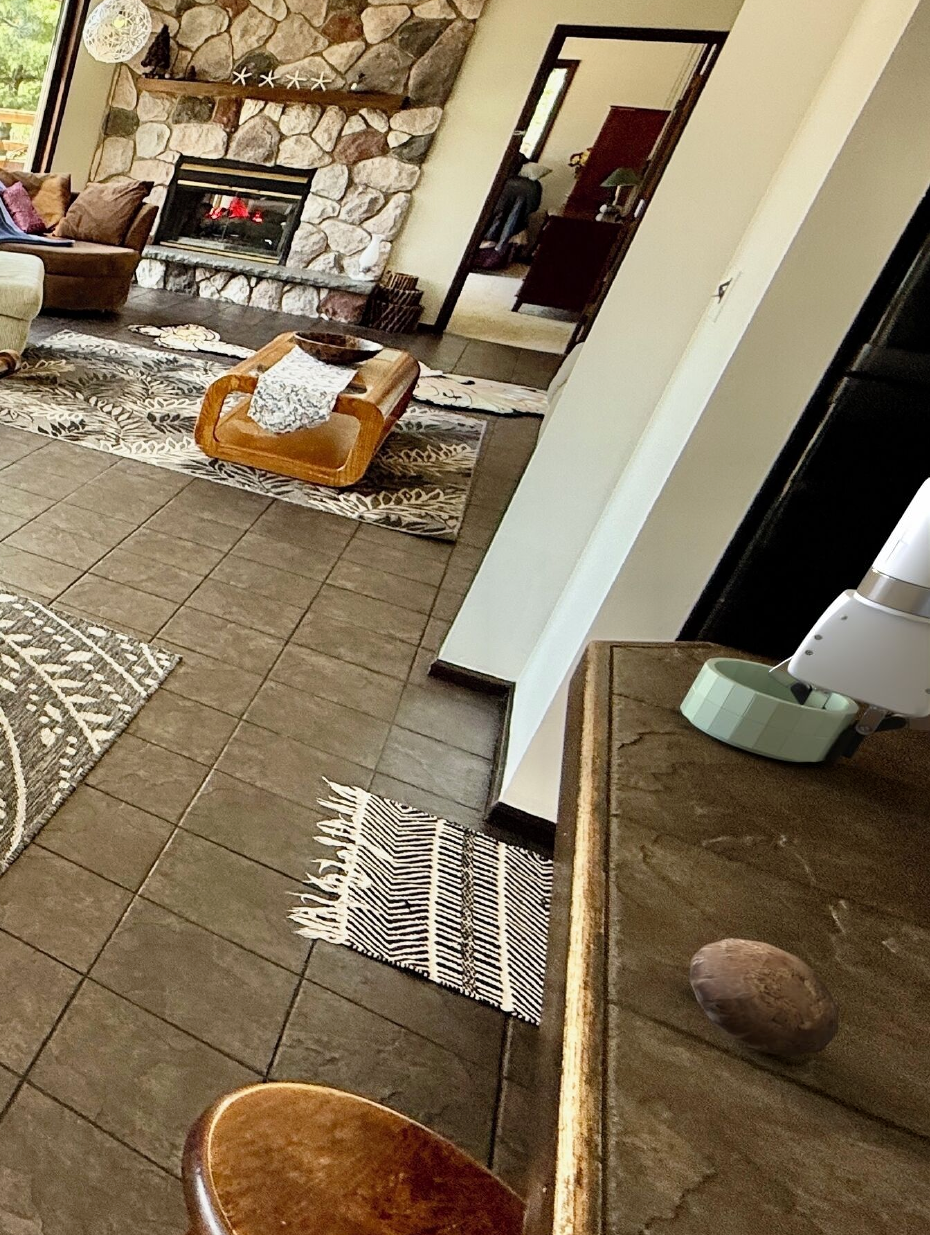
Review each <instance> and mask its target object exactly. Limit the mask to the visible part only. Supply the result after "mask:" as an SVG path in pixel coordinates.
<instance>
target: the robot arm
mask: <svg viewBox="0 0 930 1235" xmlns="http://www.w3.org/2000/svg"><path fill="white" fill-rule="evenodd" d="M872 563H873V564H872V565H871V566H870V568H869V569H868V570H867V572H866V574H865V576H864V577H863V579H862V580H861V582H860V583H859V585H858V587H857V589H846V590H844V591H843V592H842V593H841V594H840V595H838V596H837V598H836V599H835V600H834V601H833V602H832V603H831V604H830V605H829V606H828V607H827V609H826V610H825V611H824V612H823V614H822V615H821V616H820V617H819V618H818V620H817V622H816V623H815V624H814V625H813V627H812V628H811V629H810V631H809V632H808V633H807V635H806V636H805V638H804V639H803V640H802V642H801V643H800V645H799V646H798V648H797V650H796V651H795V653H794V654H793V655H792V656H790V657H788V658H787V659H785V660H783V661H782V662H780V663H779V664H777V665H776V666H773V667H774V668H773V669H771V670H770V671H769V673H768V674H769V676H770V677H771V678H773V679H774V680H776V681H777V682H778V683H780V684H781V685H783V686H784V687H786V688H788V689H789V690H791V692H792V694H793V695H794V697H795V698H796V700H797V701H798V703H799V704H800V705H803V706H808V707H814V708H819V709H826V708H825V705H826V704H827V702H828V700H829V699H830V697H831V696H832V694H833V693H836V694H839V695H842V696H845V697H848V698H850V699H852V700H853V701H857V702H860V703H863V704H866V705H869V706H868V708H867V709H866V711H865V712H864V713H863V715H862V716H861V718H860V719H855V720H854V722H853V723H850V724H849V725H848V727H847V728H846V729H845V731H844V732H843V733H842V735H841V737H840V738H839V740H838V741H837V743H836V744H835V746H834V747H833V749H832V750H831V752H830V753H829V755H828V756H827V758H826V760H825V761H827V763H829V764H832V765H835V764H837V762H838V761H839V760H840V758H841V757H843V758H846V759H849V760H851V759H852V758H853V757H854V755H855V754H856V753H857V751H858V749H859V748H860V746H861V745H862V744H863V742H864V740H865V739H866V737H867V736H869V735H872V734H876V733H882V732H887V731H894V730H900V729H904V730H905V729H906V730H909V731H911V730H912V731H920V732H921V731H923V732H930V477H928V478H927V479H925V481H924V482H923V483H922V485H921V486H920V488H919V489H918V490H917V492H916V494H915V495H914V497H913V498H912V500H911V502H910V503H909V505H908V506H907V508H906V510H905V511H904V513H903V514H902V517H901V518H900V519H899V521H898V523H897V524H896V526H895V528H894V529H893V531H892V532H891V534H890V536H889V537H888V539H887V540H886V542H885V543H884V545H883V547H882V548H881V550H880V552H879V553H878V555H877V557H876V558H875V559H874V561H873V562H872ZM811 685H813V686H815V687H814V689H813V688H812V687H811ZM826 710H827V709H826ZM889 713H890V714H889Z"/></svg>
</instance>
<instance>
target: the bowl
mask: <svg viewBox="0 0 930 1235" xmlns="http://www.w3.org/2000/svg"><path fill="white" fill-rule="evenodd" d="M774 667H775V666H772V665H768V664H764V663H760V662H756V661H752V660H751V661H750V660H745V659H740V658H733V657H732V658H731V657H713V658H708V660H706V661H705V662H704V664H703V666H702V668H701V670H700V671H699V673H698V674H697V677H696V678H695V680H694V682H693V683H692V685H691V687H690V689H689V691H687V694H686V696H685V697H684V699H683V701H682V703H681V704H680V706H679V709H680V711H681V713H682V715H683V716H684V717H685V718H687V719H688V721H689V722H690V723H691V724H692V725H693V726H695V727H696V728H698V729H699V730H701V731H702V732H703V733H705V734H707V735H709V736H710V737H713V738H715V739H717V740H720V741H722V742H724V743H726V744H728V745H731V746H733V747H736V748H739V749H740V750H741V749H742V750H744V751H747V752H750V753H753V754H757V755H760V756H762V757H763V756H764V757H766V758H770V759H771V758H772V759H776V760H781V761H785V762H786V761H787V762H795V763H808V762H811V763H816V762H823V761H827V760H826V758H827V756H828V755H829V753H830V752H831V750H832V749H833V747H834V746H835V744H836V743H837V741H838V740H839V738H840V737H841V735H842V733H843V732H844V731H845V729H846V728H847V727H848V726H849V725H850V724H851V722H852V721H853V719H854V718H855V716H856V715H857V713H858V712H859V711H860V706H859V705H858V704H857V703H856V700H854V699H851V698H848V697H845V696H842V695H839V694H836V693H833V694H832V696H831V697H830V699H829V700H828V702H827V704H826V705H825V708H826V709H827V710H826V709H819V708H814V707H808V706H803V705H800V704H799V703H798V701H797V700H796V698H795V697H794V695H793V694H792V692H791V690H789V689H788V688H786V687H784V686H783V685H781V684H780V683H778V682H777V681H776V680H774V679H773V678H771V677H770V676H769V674H768V673H769V671H770V670H771V669H773V668H774ZM811 687H812V688H813V689H814V687H815V686H813V685H811Z"/></svg>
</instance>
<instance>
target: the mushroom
mask: <svg viewBox="0 0 930 1235" xmlns="http://www.w3.org/2000/svg"><path fill="white" fill-rule="evenodd" d="M689 982H690V985H691V987H692V990H693V993H694V996H695V998H696V1000H697V1002H698V1004H699V1005H700V1007H701V1008H702V1009H703V1011H704V1012H705V1014H706V1015H707V1016H708V1018H709V1019H710V1021H711V1022H712V1023H713V1024H714V1025H716V1026H717V1027H718V1028H719V1029H720V1030H722V1031H723V1032H724V1033H726V1034H727V1035H728V1036H729V1037H731V1038H732V1039H734V1040H735V1041H737V1042H739V1043H740V1044H743V1045H746V1046H747V1047H750V1048H752V1049H753V1050H756V1051H759V1052H760V1053H768V1054H774V1055H781V1056H782V1055H783V1056H788V1057H789V1056H791V1057H792V1056H798V1055H799V1056H800V1055H806V1054H814V1053H820V1052H822V1051H824V1050H825V1049H826V1047H827V1046H828V1045H829V1044H830V1043H831V1042H832V1041H833V1039H834V1038H835V1037H836V1036H837V1035H838V1033H839V1009H838V1008H837V1005H836V1003H835V1000H834V998H833V996H832V994H831V992H830V990H829V989H828V987H827V986H826V984H825V982H823V980H822V978H821V977H820V976H819V974H818V973H816V971H814V970H813V969H812V968H811V967H810V966H809V965H808V964H807V963H806V962H804V961H803V959H801V958H799V957H798V956H797V955H794V954H792V953H790V952H788V951H785V950H783V949H780V948H778V947H776V946H774V945H772V944H769V943H767V942H764V941H763V942H762V941H755V940H749V939H743V938H742V939H741V938H734V937H733V938H732V937H729V938H725V939H722V940H718V941H715V942H710V943H708V944H707V943H706V944H704V945H703V946H702V947H701V948H700V949H699V950H698V951H697V952H696V953H694V955H693V956H692V957H691V959H690V966H689Z"/></svg>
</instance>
